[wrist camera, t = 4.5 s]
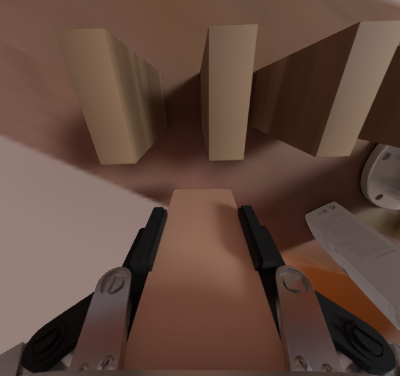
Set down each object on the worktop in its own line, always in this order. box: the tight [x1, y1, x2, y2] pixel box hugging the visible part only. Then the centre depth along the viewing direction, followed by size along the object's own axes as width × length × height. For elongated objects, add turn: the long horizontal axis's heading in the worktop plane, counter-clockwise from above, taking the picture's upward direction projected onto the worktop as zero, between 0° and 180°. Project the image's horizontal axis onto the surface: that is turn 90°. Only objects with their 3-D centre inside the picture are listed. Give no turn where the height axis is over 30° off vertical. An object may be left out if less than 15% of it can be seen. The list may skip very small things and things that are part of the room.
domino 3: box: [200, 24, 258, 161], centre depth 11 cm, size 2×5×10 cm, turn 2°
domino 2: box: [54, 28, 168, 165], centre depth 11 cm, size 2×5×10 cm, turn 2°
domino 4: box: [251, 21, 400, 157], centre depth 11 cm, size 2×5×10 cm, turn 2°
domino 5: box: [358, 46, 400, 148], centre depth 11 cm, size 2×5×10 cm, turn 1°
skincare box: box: [305, 201, 400, 331], centre depth 17 cm, size 6×4×12 cm
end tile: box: [123, 189, 285, 371], centre depth 9 cm, size 2×5×10 cm, turn 92°
